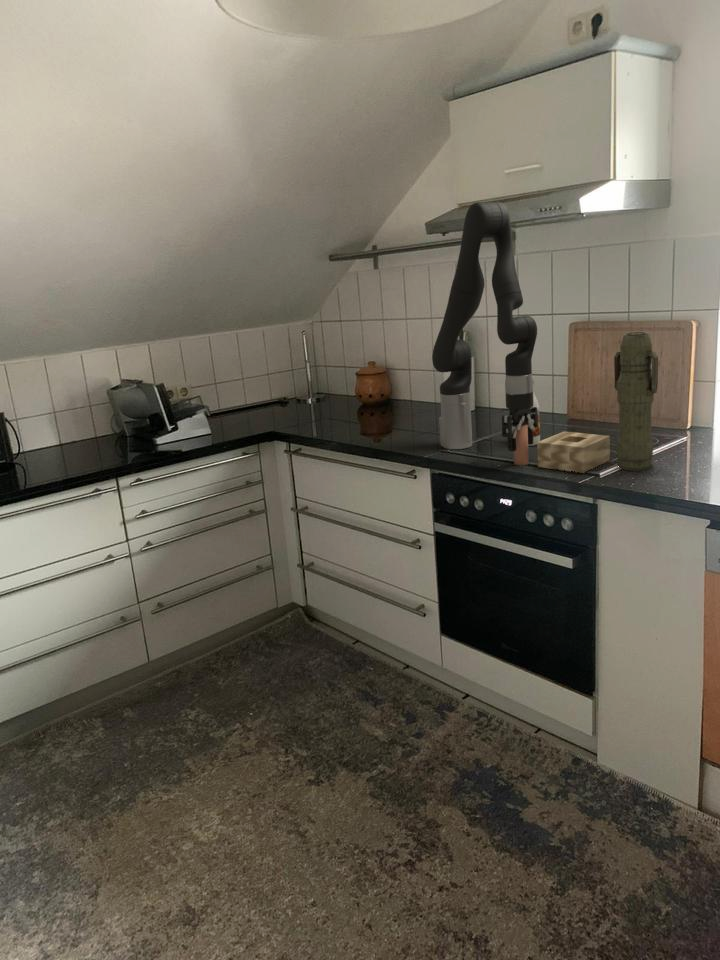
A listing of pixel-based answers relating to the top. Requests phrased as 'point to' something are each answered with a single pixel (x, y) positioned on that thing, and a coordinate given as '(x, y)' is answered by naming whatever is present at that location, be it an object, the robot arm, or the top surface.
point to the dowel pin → (521, 446)
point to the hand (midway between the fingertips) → (520, 447)
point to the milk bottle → (537, 430)
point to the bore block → (573, 451)
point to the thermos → (635, 400)
